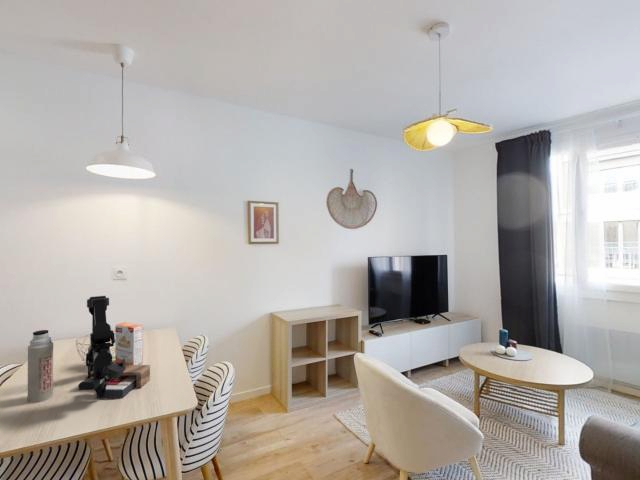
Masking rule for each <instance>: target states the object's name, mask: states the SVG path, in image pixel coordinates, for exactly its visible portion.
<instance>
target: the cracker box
mask: <svg viewBox="0 0 640 480" xmlns="http://www.w3.org/2000/svg"><path fill="white" fill-rule="evenodd" d="M114 329H115V332H114V335H115V343H114V345H115V346H114V347H115V351H114V352H115V353H114V354H115V359H114V361H115V363H114V364H119V363H121V362H125V365H143V363H144V359H143V358H144V348H143V347H144V344H143V343H144V325H142V324H137V323H131V322H127V321H125V322H121V323H118V324H115V328H114Z"/></svg>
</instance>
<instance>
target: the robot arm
mask: <svg viewBox="0 0 640 480" xmlns="http://www.w3.org/2000/svg"><path fill="white" fill-rule="evenodd" d="M108 306H110V297H106V295H97V296H90V297H89V298H88V299H86V308H88V313H90V315H91V316H92V318H91V321H92V322H91V323H92V324H91V326H92V327H91V333H90V334H89V337H90V338H89V339H90V340H89V342H90V345H89V346H88V348H87V353H85V367H87V376H85V379H84V380H82V381H81V382H79V383H78V384H77V386H78V387H77V390H78V391H94V392H95V394H96V396H97V395H98V396H99V398H98V399H103V398H102V397H103V395H104V392H105V390H106V387H107V384H108V382H109V381H110V380H111V379H112V378H113V379H118V378H119V377H120V376H122V374H123V372H124V370H126V368H125V367H126V366H125V362H121V363H114V362H113V355H112V352H111V347H112V348H113V347H115V346H114V345H115V332H114V330H111V329H112V328H111V327H112V326H111V325H110V324H109V323H108V322H107V312H106V311H107V310H108ZM92 371H93V373H92V374H91V372H92ZM91 377H94V378H93V379H91Z"/></svg>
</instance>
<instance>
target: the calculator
mask: <svg viewBox="0 0 640 480" xmlns="http://www.w3.org/2000/svg"><path fill="white" fill-rule="evenodd" d="M135 388H136V376H129V377H128V376H120V377H119V378H118V379H113V380H111V381H110V382H108V384H107V387H106V390H105V392H104V395H103V397H102V398H101V399H124V398H125V397H126V396H127V395H128V394H129V393H130V392H131V391H132V390H134V389H135ZM96 399H100V398H99V396H98V395H97V394H96Z"/></svg>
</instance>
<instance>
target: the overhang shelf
mask: <svg viewBox="0 0 640 480" xmlns="http://www.w3.org/2000/svg"><path fill="white" fill-rule="evenodd" d="M125 366H126V367H125V368H126V370H124V372H123V374H122V376H128V377H129V376H136V387H135V388H136V389H141V388H143V387H144V386H146V385H147V384H148V382H149V381H151V365H150V364H140V365H125ZM92 373H93V371H92V372H91V374H92ZM93 378H94V377H91V378H90V379H93ZM111 380H113V378H112V379H111ZM111 380H110V381H111ZM110 381H109V382H110Z"/></svg>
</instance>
